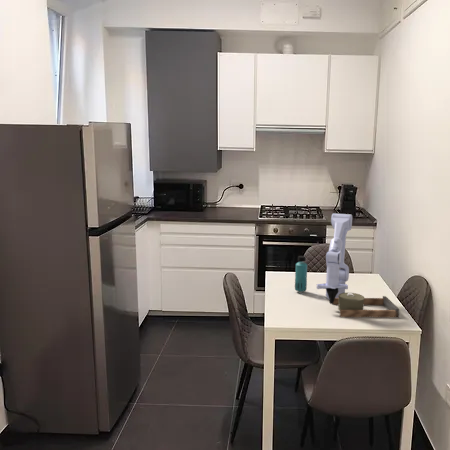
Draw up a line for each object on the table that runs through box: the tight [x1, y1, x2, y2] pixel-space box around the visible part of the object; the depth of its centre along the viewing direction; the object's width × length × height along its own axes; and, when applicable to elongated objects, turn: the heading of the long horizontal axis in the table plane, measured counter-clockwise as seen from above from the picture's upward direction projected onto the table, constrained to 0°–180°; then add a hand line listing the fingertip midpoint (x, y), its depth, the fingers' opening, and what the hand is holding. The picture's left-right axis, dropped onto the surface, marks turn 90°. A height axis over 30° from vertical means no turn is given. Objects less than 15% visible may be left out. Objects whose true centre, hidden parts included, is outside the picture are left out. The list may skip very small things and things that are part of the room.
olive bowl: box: [337, 292, 365, 312], centre depth 218 cm, size 12×12×7 cm
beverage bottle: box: [294, 255, 308, 292], centre depth 242 cm, size 6×7×20 cm
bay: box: [332, 295, 400, 318], centre depth 218 cm, size 27×18×4 cm
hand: (331, 303), depth 218 cm, fingers closed
